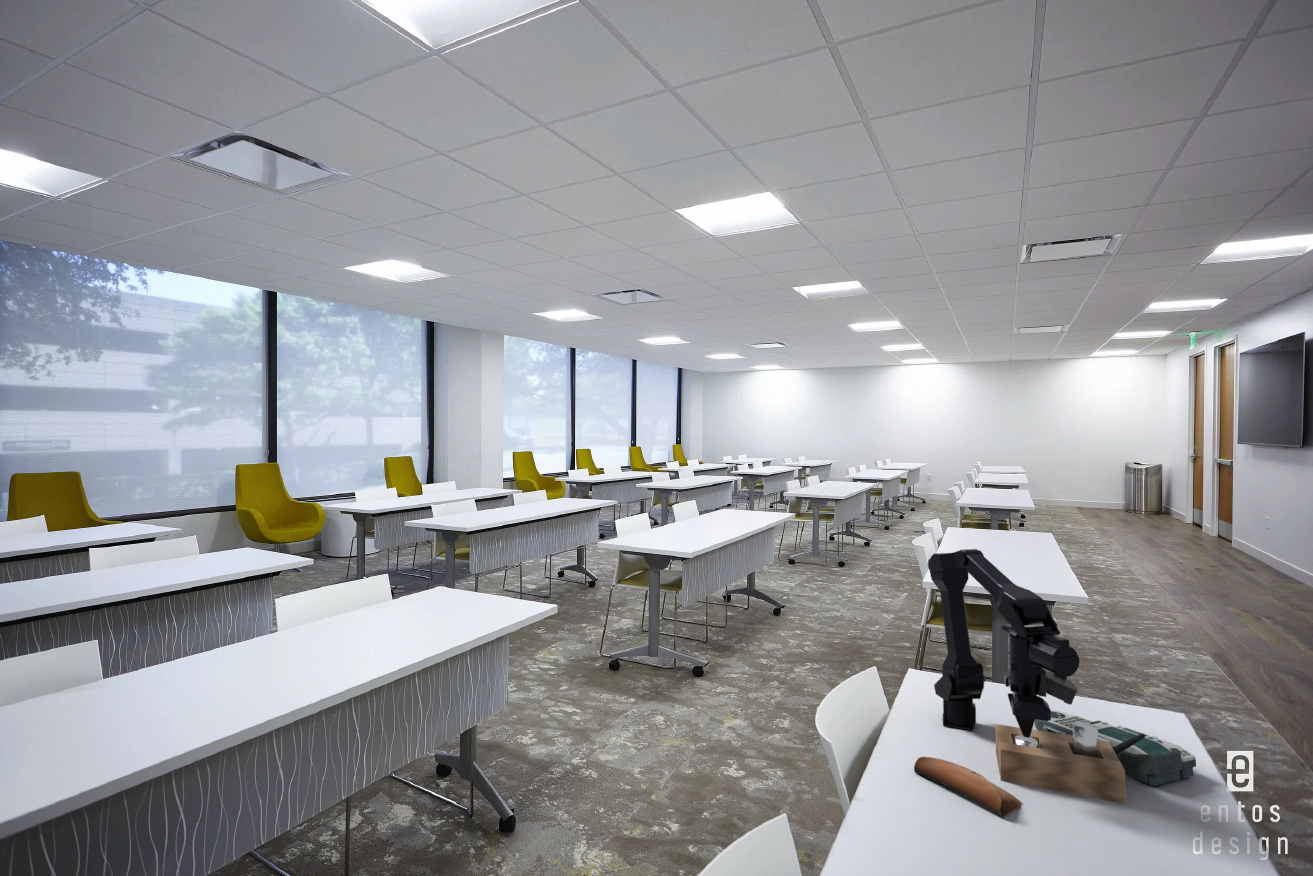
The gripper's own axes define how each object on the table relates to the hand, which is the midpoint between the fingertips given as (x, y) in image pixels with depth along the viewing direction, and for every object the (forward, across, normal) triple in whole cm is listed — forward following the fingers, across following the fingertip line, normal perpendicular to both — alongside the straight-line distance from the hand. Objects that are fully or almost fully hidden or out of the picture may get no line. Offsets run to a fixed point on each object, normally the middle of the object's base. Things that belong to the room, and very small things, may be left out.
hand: (1026, 736), depth 127 cm
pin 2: (+2, 0, -10) cm, 10 cm away
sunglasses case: (+8, -12, +11) cm, 18 cm away
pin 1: (+7, 0, 0) cm, 7 cm away
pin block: (+7, 0, -5) cm, 8 cm away
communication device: (+7, +16, -16) cm, 23 cm away
